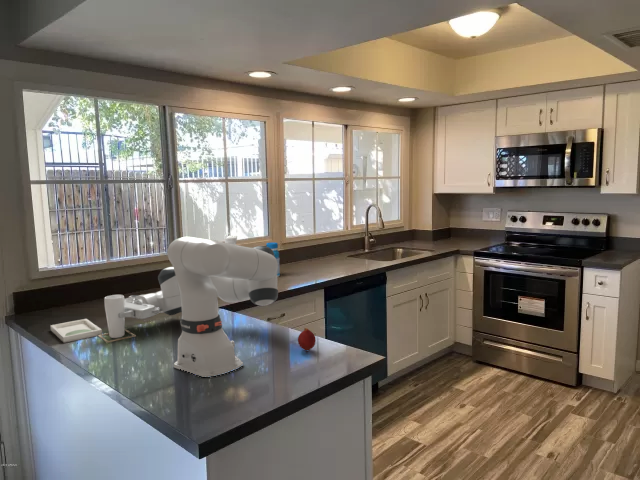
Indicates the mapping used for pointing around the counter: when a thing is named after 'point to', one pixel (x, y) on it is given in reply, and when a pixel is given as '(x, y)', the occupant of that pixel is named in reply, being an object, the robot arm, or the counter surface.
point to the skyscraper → (230, 239)
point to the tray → (75, 330)
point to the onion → (306, 339)
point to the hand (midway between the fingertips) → (113, 314)
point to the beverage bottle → (276, 253)
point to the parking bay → (116, 339)
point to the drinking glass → (115, 315)
